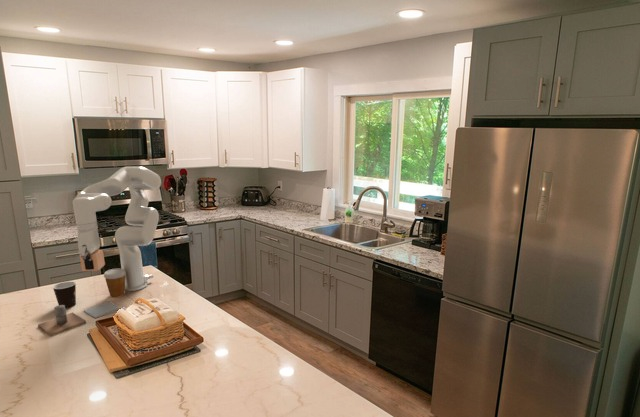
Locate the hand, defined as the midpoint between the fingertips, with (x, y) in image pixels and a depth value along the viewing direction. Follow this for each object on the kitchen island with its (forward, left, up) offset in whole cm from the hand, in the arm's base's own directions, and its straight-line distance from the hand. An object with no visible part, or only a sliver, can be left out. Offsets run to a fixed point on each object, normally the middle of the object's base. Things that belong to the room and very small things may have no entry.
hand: (93, 265), depth 169 cm
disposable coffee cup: (-13, -11, -21) cm, 27 cm away
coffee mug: (+5, -19, -21) cm, 29 cm away
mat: (-1, 0, -21) cm, 21 cm away
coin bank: (0, 0, -1) cm, 1 cm away
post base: (+15, 0, -21) cm, 26 cm away
